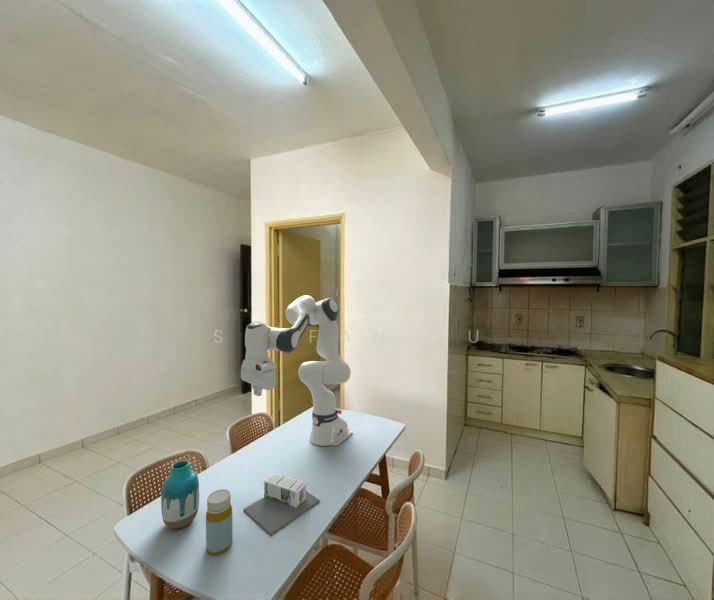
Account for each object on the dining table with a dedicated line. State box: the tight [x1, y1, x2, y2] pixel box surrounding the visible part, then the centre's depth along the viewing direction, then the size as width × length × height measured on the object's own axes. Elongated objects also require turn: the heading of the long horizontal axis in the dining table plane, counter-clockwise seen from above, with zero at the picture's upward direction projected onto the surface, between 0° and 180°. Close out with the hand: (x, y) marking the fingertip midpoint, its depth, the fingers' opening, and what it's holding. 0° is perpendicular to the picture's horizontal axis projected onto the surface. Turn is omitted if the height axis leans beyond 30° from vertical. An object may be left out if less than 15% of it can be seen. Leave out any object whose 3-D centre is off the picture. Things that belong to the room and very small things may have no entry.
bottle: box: [205, 488, 233, 556], centre depth 91 cm, size 7×7×15 cm
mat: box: [243, 490, 321, 536], centre depth 107 cm, size 20×16×1 cm
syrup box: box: [263, 472, 307, 508], centre depth 111 cm, size 6×6×14 cm
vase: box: [160, 459, 200, 530], centre depth 99 cm, size 11×11×19 cm
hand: (257, 395), depth 128 cm, fingers closed
